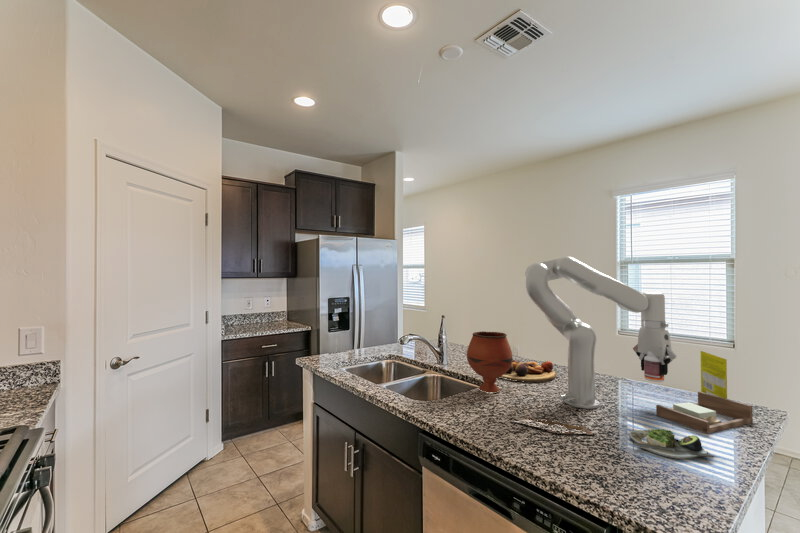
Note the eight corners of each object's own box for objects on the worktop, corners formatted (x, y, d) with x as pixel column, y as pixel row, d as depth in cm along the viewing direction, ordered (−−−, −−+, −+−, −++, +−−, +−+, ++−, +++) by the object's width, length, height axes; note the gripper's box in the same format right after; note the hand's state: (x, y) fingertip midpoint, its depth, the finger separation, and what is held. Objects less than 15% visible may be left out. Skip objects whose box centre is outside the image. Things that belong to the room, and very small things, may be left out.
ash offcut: (705, 423, 116) (704, 418, 116) (670, 413, 125) (670, 408, 125) (716, 418, 120) (716, 414, 120) (682, 409, 129) (682, 404, 129)
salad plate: (656, 465, 97) (656, 448, 97) (612, 435, 115) (612, 420, 115) (723, 462, 98) (723, 445, 99) (669, 433, 116) (669, 419, 116)
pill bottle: (666, 383, 133) (666, 353, 133) (646, 381, 135) (646, 352, 135) (661, 378, 139) (660, 349, 139) (642, 377, 141) (641, 348, 141)
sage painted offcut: (699, 418, 117) (699, 413, 117) (673, 408, 125) (673, 404, 125) (716, 415, 119) (716, 411, 119) (689, 406, 127) (689, 402, 127)
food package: (729, 415, 131) (728, 359, 131) (725, 414, 131) (724, 359, 132) (702, 400, 146) (702, 350, 146) (699, 400, 146) (698, 350, 147)
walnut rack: (707, 438, 112) (706, 415, 112) (656, 419, 127) (656, 399, 127) (752, 426, 121) (752, 405, 121) (700, 410, 135) (699, 391, 135)
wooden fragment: (594, 429, 119) (594, 426, 119) (594, 443, 110) (594, 439, 110) (513, 415, 131) (513, 412, 131) (507, 427, 121) (507, 424, 121)
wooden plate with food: (556, 370, 192) (556, 354, 192) (554, 386, 163) (554, 368, 163) (495, 365, 205) (495, 350, 206) (483, 379, 177) (483, 362, 177)
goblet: (521, 391, 156) (521, 333, 157) (494, 402, 144) (494, 338, 144) (484, 381, 171) (484, 328, 171) (457, 390, 158) (457, 332, 159)
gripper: (684, 327, 131) (685, 377, 130) (637, 321, 147) (638, 366, 147) (670, 328, 128) (671, 379, 128) (624, 322, 144) (625, 367, 144)
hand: (654, 372), depth 137 cm, fingers closed on pill bottle, 6 cm apart
